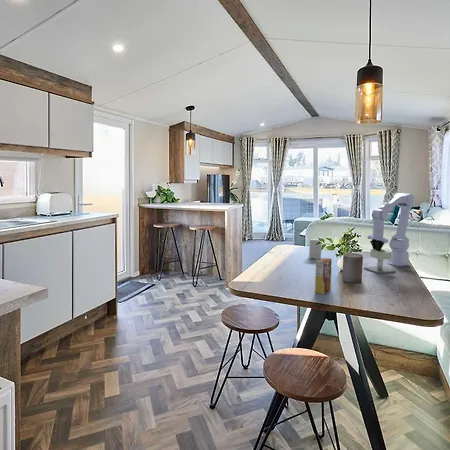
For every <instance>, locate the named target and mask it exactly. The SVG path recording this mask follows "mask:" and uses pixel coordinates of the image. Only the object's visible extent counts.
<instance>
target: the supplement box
mask: <svg viewBox="0 0 450 450" xmlns="http://www.w3.org/2000/svg"><path fill="white" fill-rule="evenodd" d="M319 239H320V238H309V248H308V249H309V250H308V251H309V253H308V257H309V258H316V259H315V260H320V259H322V243H320V244H318V245H316V244H317V243H318V242H320V241H319Z"/></svg>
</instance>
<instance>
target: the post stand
mask: <svg viewBox="0 0 450 450" xmlns="http://www.w3.org/2000/svg"><path fill="white" fill-rule="evenodd" d="M383 262H384V259H382V260H380V259H377V264H376V266H366V267H365V266H364V267H363V270H366V271H369V272H372V273H374V274H377V275H382V274H383V275H384V274H395V273H397V271H396V270H395V269H391V268H388V267H385V266H383V264H384V263H383Z"/></svg>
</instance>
